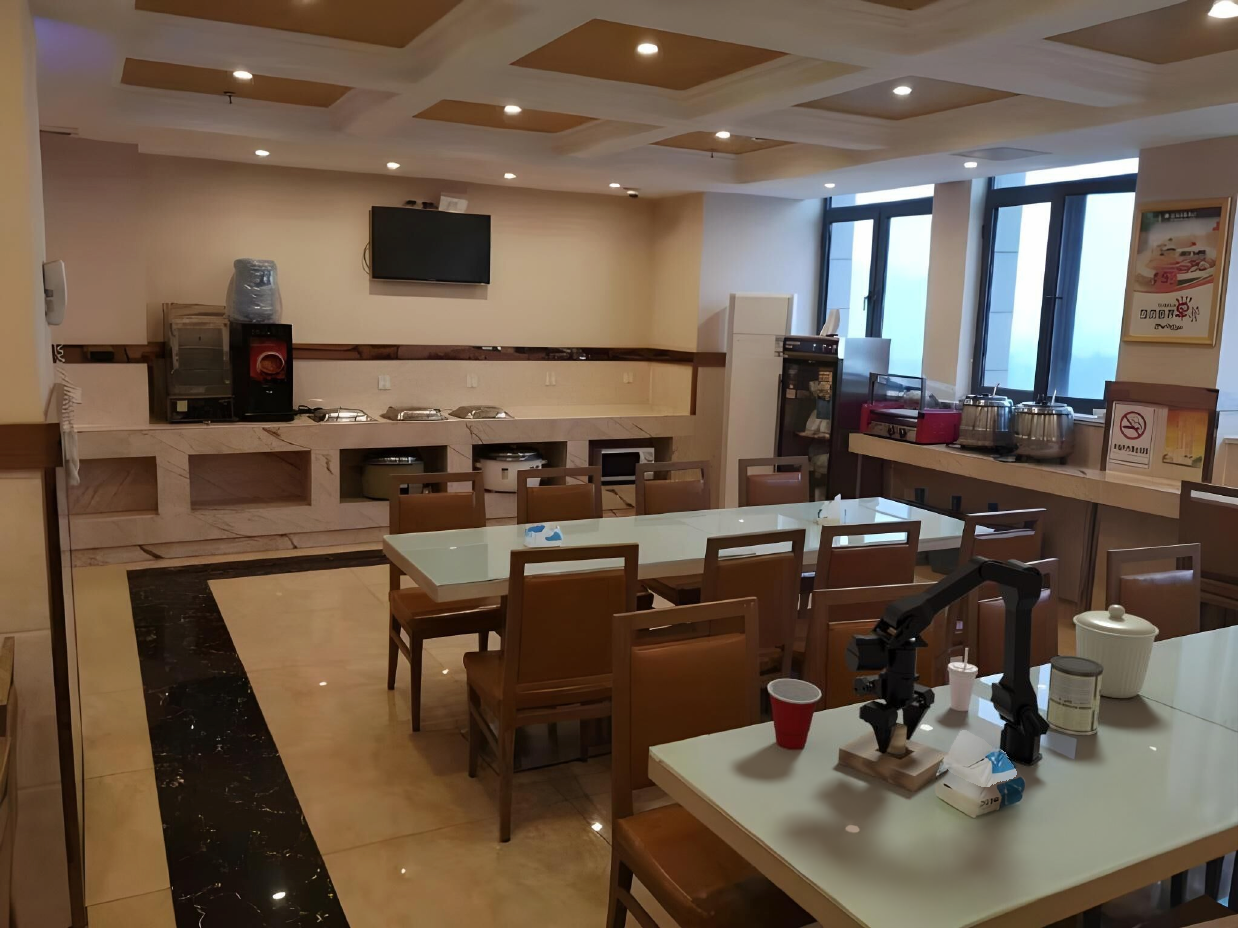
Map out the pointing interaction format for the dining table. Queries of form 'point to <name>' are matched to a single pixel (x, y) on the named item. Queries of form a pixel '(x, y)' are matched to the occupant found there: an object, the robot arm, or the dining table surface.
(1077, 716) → the coffee can
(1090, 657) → the canister
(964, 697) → the smoothie
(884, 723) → the robot arm
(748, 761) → the dining table surface
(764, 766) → the dining table surface
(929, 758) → the board
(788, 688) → the plastic cup
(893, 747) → the peg
